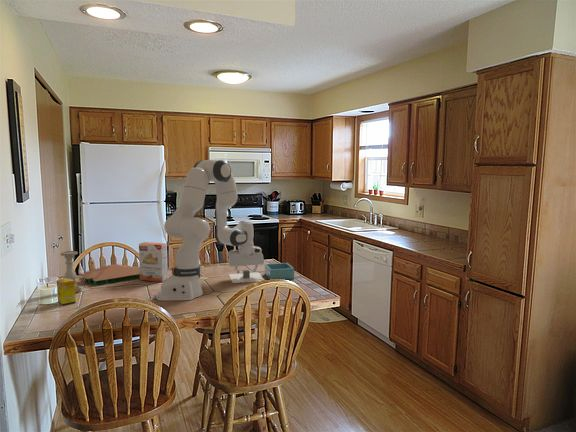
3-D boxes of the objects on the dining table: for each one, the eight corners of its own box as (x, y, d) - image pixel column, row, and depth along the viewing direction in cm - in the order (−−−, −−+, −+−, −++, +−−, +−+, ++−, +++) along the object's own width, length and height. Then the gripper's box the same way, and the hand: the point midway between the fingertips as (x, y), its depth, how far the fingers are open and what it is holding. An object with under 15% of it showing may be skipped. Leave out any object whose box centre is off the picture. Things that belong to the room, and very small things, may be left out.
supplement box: (57, 302, 191) (56, 280, 190) (71, 300, 195) (70, 277, 194) (61, 306, 187) (60, 282, 185) (75, 303, 191) (74, 280, 189)
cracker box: (139, 280, 229) (138, 243, 226) (145, 277, 234) (144, 241, 232) (162, 282, 225) (161, 244, 223) (167, 279, 231) (166, 242, 229)
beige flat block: (78, 278, 233) (77, 264, 232) (137, 269, 254) (136, 256, 253) (89, 288, 215) (88, 273, 214) (151, 277, 236) (150, 263, 235)
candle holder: (59, 291, 208) (57, 252, 206) (78, 288, 214) (76, 249, 211) (63, 295, 201) (61, 255, 199) (83, 292, 207) (80, 252, 205)
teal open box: (270, 280, 230) (270, 269, 230) (264, 274, 244) (264, 264, 243) (294, 278, 234) (294, 268, 233) (287, 272, 248) (287, 262, 247)
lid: (232, 284, 225) (232, 275, 224) (228, 275, 242) (228, 267, 242) (264, 281, 230) (264, 273, 229) (258, 273, 247) (258, 266, 246)
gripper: (228, 251, 228) (228, 275, 230) (264, 249, 234) (264, 273, 235) (227, 249, 234) (227, 272, 236) (262, 247, 240) (262, 270, 241)
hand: (246, 272), depth 236 cm, fingers open, 8 cm apart
